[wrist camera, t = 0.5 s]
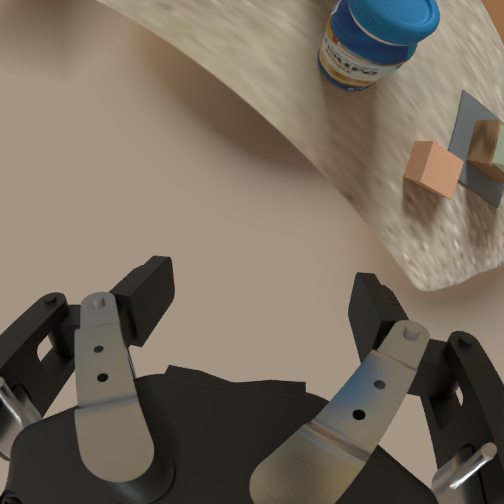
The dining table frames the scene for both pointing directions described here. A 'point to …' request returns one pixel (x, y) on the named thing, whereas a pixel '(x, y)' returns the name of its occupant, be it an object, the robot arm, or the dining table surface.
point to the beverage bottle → (373, 39)
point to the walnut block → (485, 148)
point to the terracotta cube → (434, 168)
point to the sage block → (499, 150)
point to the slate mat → (461, 143)
